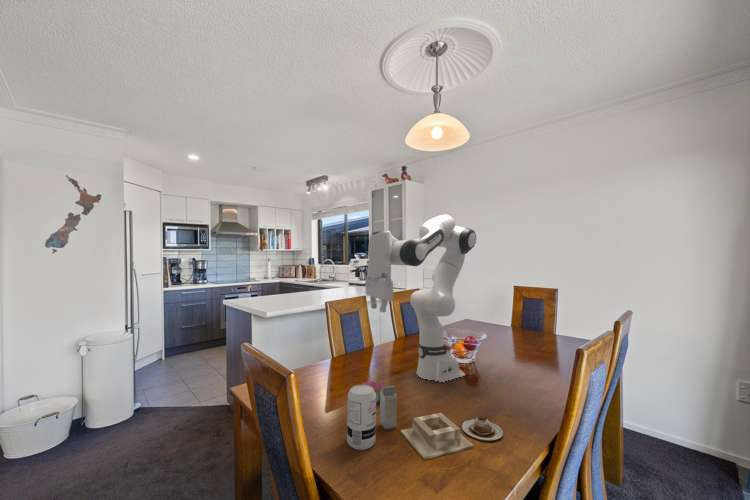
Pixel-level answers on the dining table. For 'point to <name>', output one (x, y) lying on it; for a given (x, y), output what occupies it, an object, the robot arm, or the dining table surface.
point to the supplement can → (361, 417)
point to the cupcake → (375, 386)
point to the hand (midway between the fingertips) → (378, 310)
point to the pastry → (482, 428)
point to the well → (435, 436)
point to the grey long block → (388, 407)
